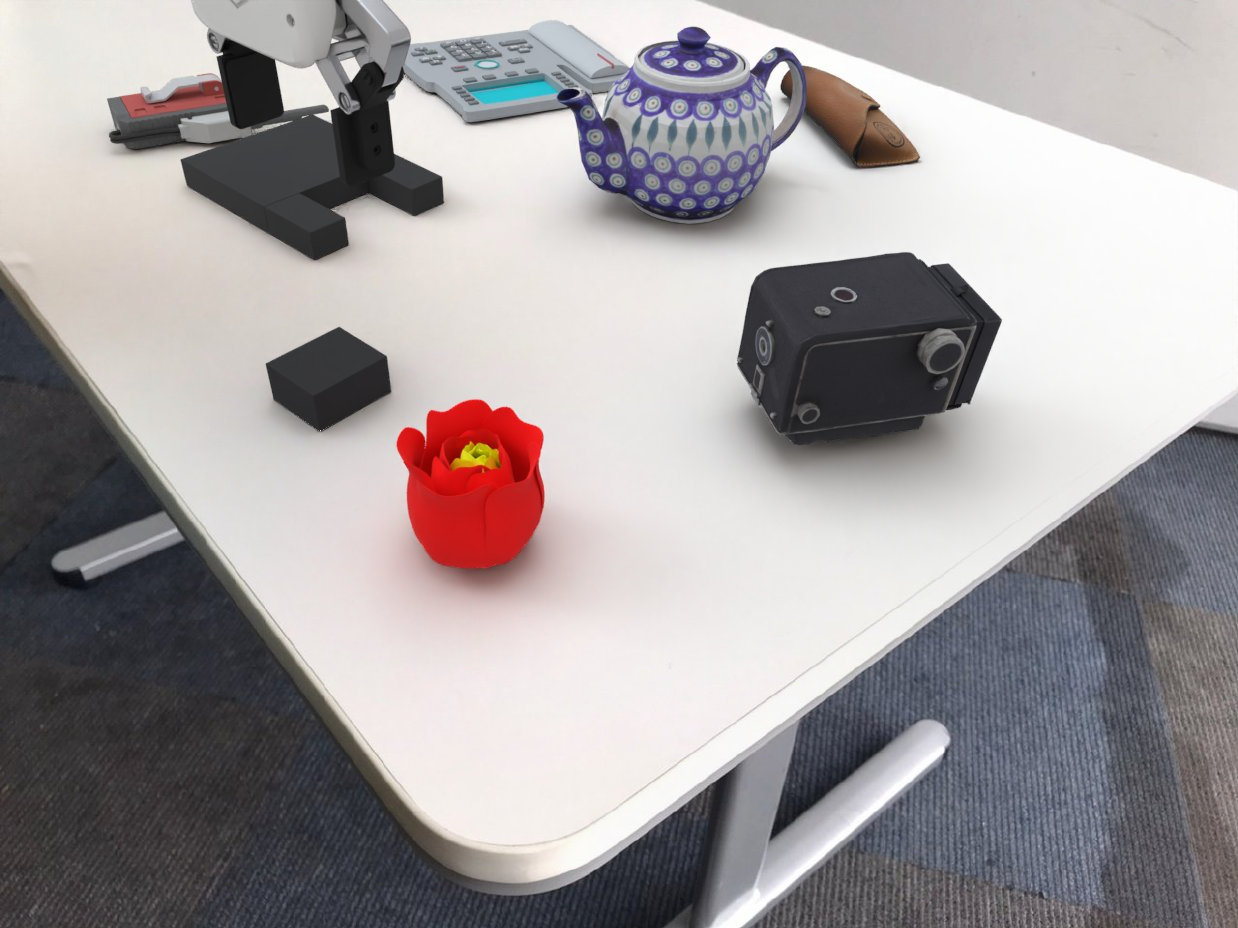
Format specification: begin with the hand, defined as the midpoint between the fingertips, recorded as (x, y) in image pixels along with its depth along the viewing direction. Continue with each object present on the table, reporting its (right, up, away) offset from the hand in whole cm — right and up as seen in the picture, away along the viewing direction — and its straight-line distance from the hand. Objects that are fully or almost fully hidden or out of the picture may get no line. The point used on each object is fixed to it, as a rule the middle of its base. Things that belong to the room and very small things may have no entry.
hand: (311, 148), depth 56 cm
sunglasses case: (+41, +18, +51) cm, 68 cm away
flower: (+9, -22, +4) cm, 24 cm away
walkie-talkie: (-22, +15, +43) cm, 51 cm away
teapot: (+22, +7, +37) cm, 44 cm away
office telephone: (+6, +25, +57) cm, 63 cm away
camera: (+32, -15, +14) cm, 38 cm away
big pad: (-10, +6, +34) cm, 36 cm away
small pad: (-3, -13, +13) cm, 18 cm away
